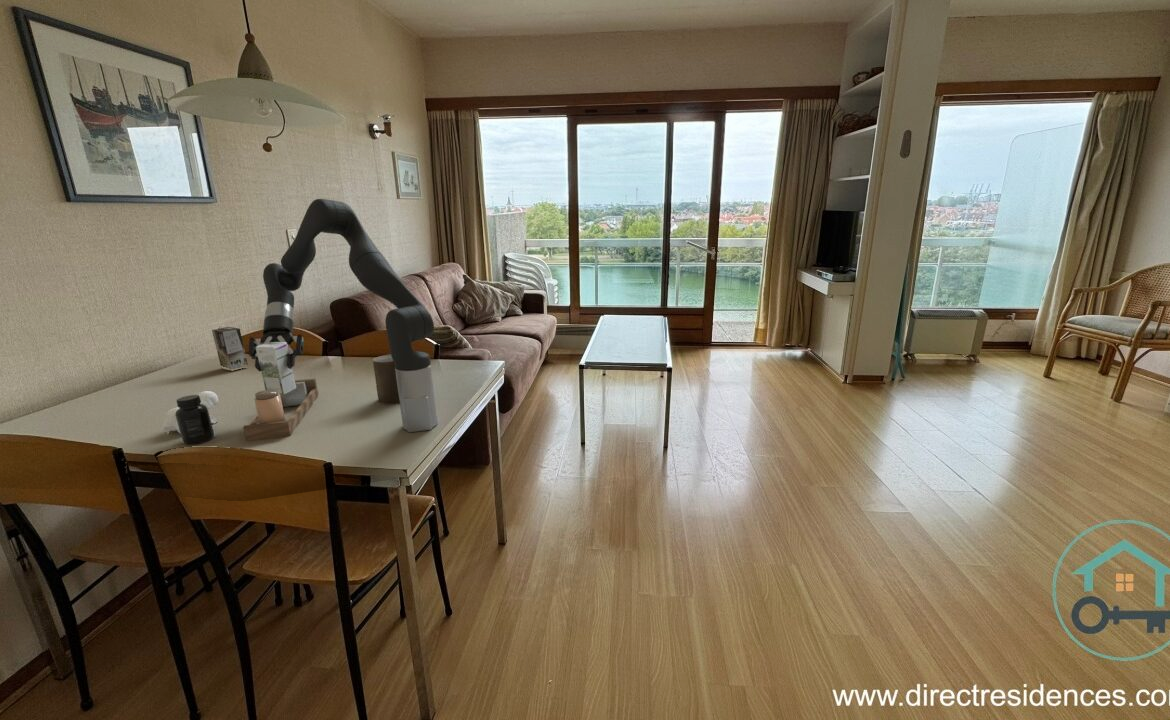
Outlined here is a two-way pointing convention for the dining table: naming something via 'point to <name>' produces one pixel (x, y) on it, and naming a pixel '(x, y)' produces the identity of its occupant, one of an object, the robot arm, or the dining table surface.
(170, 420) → the white rounded figurine
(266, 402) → the jar
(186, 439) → the supplement bottle
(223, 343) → the coffee box
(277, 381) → the syrup box
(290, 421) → the wooden tray
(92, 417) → the dining table surface
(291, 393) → the grey box
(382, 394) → the pillar candle
